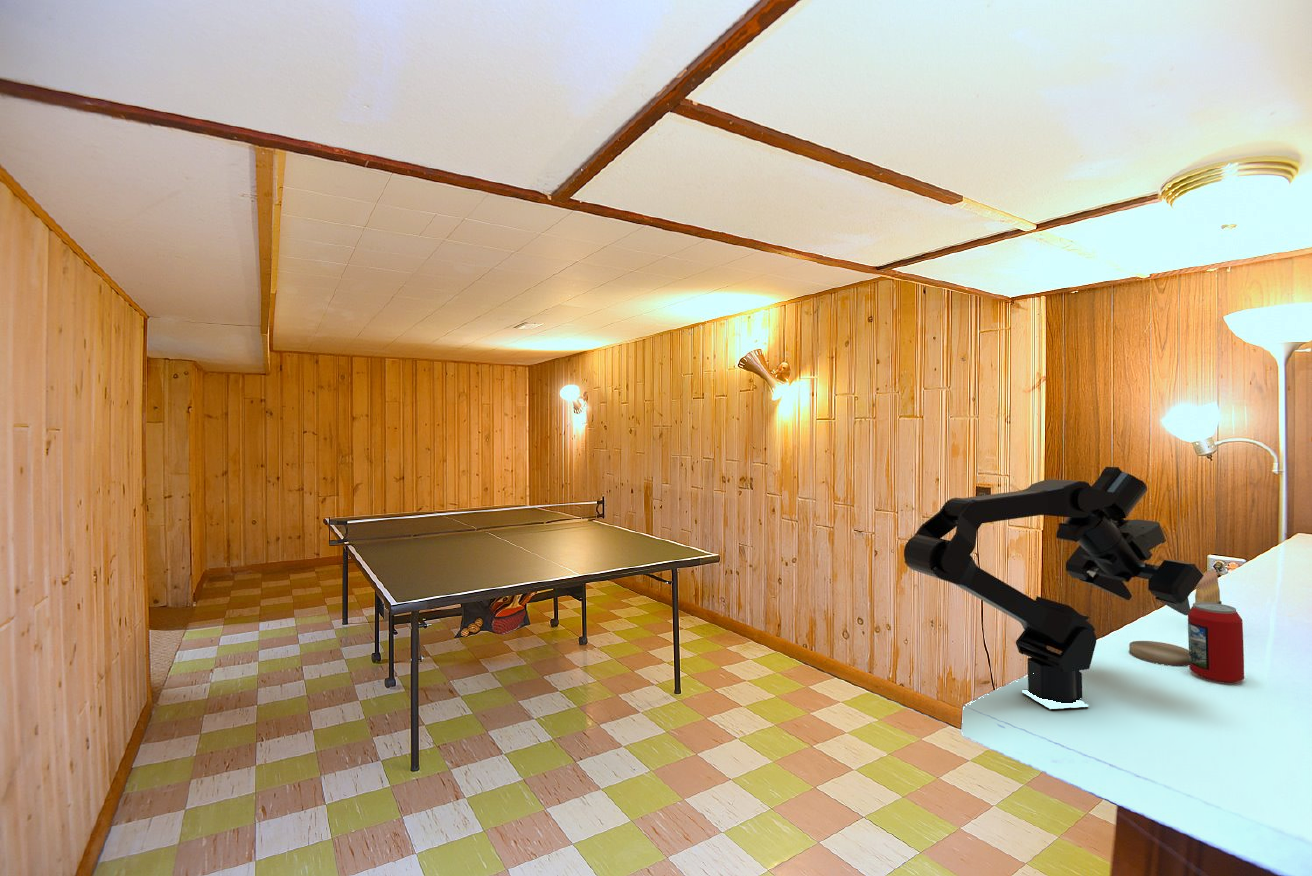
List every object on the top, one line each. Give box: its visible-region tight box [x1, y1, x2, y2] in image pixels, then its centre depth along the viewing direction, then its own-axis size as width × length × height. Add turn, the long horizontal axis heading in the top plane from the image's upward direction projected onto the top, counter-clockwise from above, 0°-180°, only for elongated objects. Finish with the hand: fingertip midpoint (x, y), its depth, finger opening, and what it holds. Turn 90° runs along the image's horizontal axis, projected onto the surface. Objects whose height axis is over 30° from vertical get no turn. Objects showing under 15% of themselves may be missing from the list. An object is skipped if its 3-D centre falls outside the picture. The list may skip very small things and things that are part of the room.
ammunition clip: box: [1194, 568, 1222, 604], centre depth 125 cm, size 11×2×12 cm, turn 123°
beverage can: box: [1187, 602, 1245, 684], centre depth 100 cm, size 7×7×12 cm
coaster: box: [1128, 640, 1189, 667], centre depth 109 cm, size 9×9×2 cm
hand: (1157, 605), depth 97 cm, fingers open, 9 cm apart
